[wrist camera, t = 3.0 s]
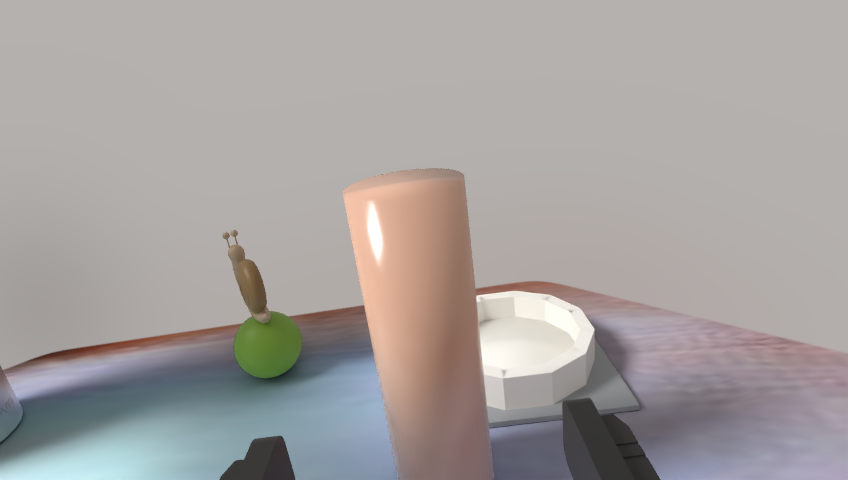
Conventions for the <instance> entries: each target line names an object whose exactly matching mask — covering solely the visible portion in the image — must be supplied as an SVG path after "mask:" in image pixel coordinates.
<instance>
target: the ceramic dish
mask: <svg viewBox="0 0 848 480" xmlns="http://www.w3.org/2000/svg"><path fill="white" fill-rule="evenodd" d="M476 300H477V310H478V320H479V330H480V340H481V350H482V360H483V370H484V380H485V390H486V401H487V406H490V407H494V408H498V409H502V410H513V409H521V408H529V407H538V406H546V405H553V404H555V403H557V402H558V401H560V400H562V399H563V398H565V397H567V396H568V395H570V394H572V393H573V392H575V391H576V390H578V389H580V388H581V387H583V386H585V385H586V384H587V381H588V378H589V375H590V372H591V369H592V366H593V363H594V360H595V329H594V328H593V326H592V325H591V323H590V322H589V320H588V319H587V318H586V316H585V315H584V313H583V312H582V310H581V309H580V308H578V307H576V306H574V305H571V304H569V303H567V302H565V301H563V300H560V299H558V298H556V297H554V296H551V295H545V294H537V293H528V292H520V291H510V292H502V293H494V294H486V295H478V296H476Z"/></svg>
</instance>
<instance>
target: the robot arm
mask: <svg viewBox="0 0 848 480" xmlns="http://www.w3.org/2000/svg"><path fill="white" fill-rule="evenodd" d="M562 414H563V440H564V450H565V455H566V459H567V463H568V466H569V469H570V472H571V474H572V477H573V479H574V480H660V478H659V476H658V475H657V473H656V471H655V470H654V468H653V466H652V465H651V463H650V461H649V460H648V458H646V456H645V453H644V451H643V450H642V448H641V446H640V445H638V441H637V440H636V438H635V436H634V435H633V433H632V431H631V430H630V428H629V427H628V426H627V425H626V424H625V423H623V422H622V421H621V420H620V419H618V418H617V417H616V416H615V415H613V414H611V415H603V416H600V414H599V412H598V410H597V409H596V407H595V405H594V403H593V401H592V400H591V398H580V399H572V400H564V401H563V403H562ZM22 416H23V409H22V407H21V405H20V403H19V401H18V399H17V397H16V395H15V393H14V391H13V389H12V387H11V385H10V384H9V382H8V380H7V378H6V376H5V374H4V372H3V369H2V367H1V366H0V442H1V441H2V440H4V439H5V438H6V437H7V436H8V435H9V434H10V433H11V432H12V431H13V430H14V429H15V428H16V427H17V425H18V424H19V422H20V421H21V419H22ZM220 480H295V476H294V472H293V469H292V465H291V462H290V458H289V455H288V452H287V448H286V445H285V441H284V439H283V437H282V436H275V437H266V438H258V439H254V440H253V441H252V443H251V445H250V447H249V450H248V452H247V454H246V457H245V459H244V460H237V461H235V462H234V463H233V464H232V465H231V466H230V467H229V468H228V469H227V470H226V471H225V473H224V474H223V475H222V476H221V478H220Z"/></svg>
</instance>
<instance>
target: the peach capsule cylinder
mask: <svg viewBox="0 0 848 480" xmlns="http://www.w3.org/2000/svg"><path fill="white" fill-rule="evenodd" d="M343 196H344V202H345V206H346V212H347V217H348V222H349V228H350V233H351V238H352V243H353V248H354V254H355V259H356V264H357V269H358V275H359V280H360V285H361V290H362V295H363V301H364V306H365V311H366V316H367V322H368V327H369V332H370V337H371V342H372V348H373V353H374V358H375V363H376V369H377V374H378V379H379V384H380V389H381V395H382V400H383V405H384V410H385V416H386V421H387V426H388V431H389V436H390V442H391V447H392V452H393V457H394V463H395V468H396V473H397V478H398V480H494V471H493V461H492V451H491V441H490V431H489V421H488V411H487V401H486V390H485V380H484V370H483V360H482V350H481V340H480V330H479V320H478V310H477V300H476V290H475V280H474V270H473V260H472V251H471V240H470V231H469V220H468V210H467V200H466V190H465V180H464V175H463V174H462V173H461V172H458V171H455V170H450V169H435V168H434V169H433V168H432V169H414V170H405V171H398V172H392V173H387V174H382V175H378V176H374V177H370V178H367V179H364V180H361V181H358V182H356V183H354V184H352V185H350V186H348V187H347V188H346V189H345V190H344V191H343Z"/></svg>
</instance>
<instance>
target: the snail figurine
mask: <svg viewBox="0 0 848 480" xmlns="http://www.w3.org/2000/svg"><path fill="white" fill-rule="evenodd" d="M237 234H238V233H237V231H236V230H233V231H231V235H232V236H233V237H235V240H236V236H237ZM229 236H230V235H229V234H228V233H223V238H224V239H226V240H227V243H228V238H229ZM236 244H237V240H236ZM228 246H229V243H228ZM228 256H229V258H230V259H231V261H232V264H233V270H234V274H235V277H236V280H237V283H238V285H239V288H240V291H241V294H242V296H243V299H244V301H245V303H246V305H247V307H248V309H249V311H250V313H251V315H252V317H250V318H249V319H247V320H246V321H245V322H244V323H243V324H242V325H241V326H240V328H239V329H238V331H237V333H236V336H235V339H234V346H233V348H234V355H235V358H236V360H237V362H238V364H239V365H240V367H241V368H242V369H243V370H244V371H245V372H247V373H248V374H250V375H252V376H255V377H259V378H272V377H276V376H279V375H281V374H283V373H285V372H286V371H288V370H289V369H290V368H291V367H292V366H293V365H294V364H295V363H296V361H297V359H298V358H299V355H300V353H301V348H302V337H301V333H300V330H299V328H298V326H297V325H296V323H295V322H294V321H293V320H292V319H291V318H289V317H288V316H286V315H284V314H282V313H278V312H272V311H271V312H270V311H269V310H268V308H267V307H266V304H267V300H266V292H265V288H264V284H263V281H262V278H261V275H260V272H259V270H258V268H257V266H256V265H255V263H254V262H253V261H251V260H245V253H244V250H243V248H242V247H241V246H239V245H238V244H237V245H232V246H231V247H230V246H229V250H228Z"/></svg>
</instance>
